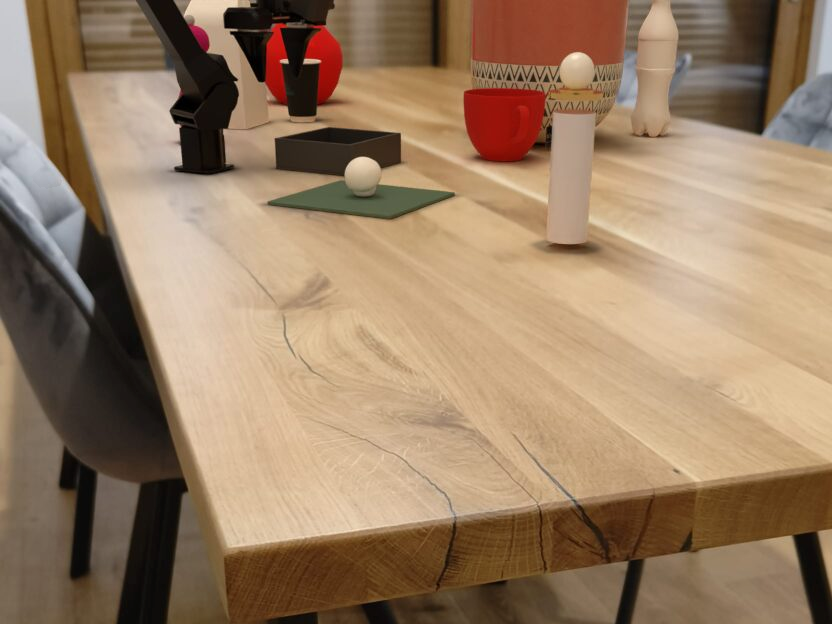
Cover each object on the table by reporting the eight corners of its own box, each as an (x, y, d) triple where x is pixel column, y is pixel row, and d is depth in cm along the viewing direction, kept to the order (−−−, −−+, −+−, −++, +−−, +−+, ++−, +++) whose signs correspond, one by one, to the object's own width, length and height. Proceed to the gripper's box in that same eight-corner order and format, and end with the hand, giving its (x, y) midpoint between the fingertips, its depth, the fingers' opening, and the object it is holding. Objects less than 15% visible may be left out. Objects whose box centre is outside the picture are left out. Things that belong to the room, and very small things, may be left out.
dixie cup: (330, 119, 220) (328, 59, 215) (310, 124, 213) (308, 62, 208) (295, 117, 222) (292, 58, 218) (274, 121, 216) (271, 60, 211)
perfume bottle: (602, 246, 124) (616, 52, 115) (573, 254, 120) (586, 55, 111) (559, 238, 127) (570, 49, 118) (530, 246, 123) (539, 51, 114)
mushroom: (388, 198, 145) (388, 158, 143) (355, 201, 143) (354, 161, 141) (371, 191, 149) (370, 153, 147) (338, 194, 147) (337, 155, 145)
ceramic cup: (483, 170, 168) (485, 100, 164) (452, 153, 183) (453, 88, 178) (563, 167, 171) (567, 98, 167) (526, 151, 186) (529, 87, 181)
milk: (186, 126, 208) (173, -28, 196) (211, 119, 218) (201, -28, 206) (246, 129, 205) (236, -27, 194) (269, 122, 215) (261, -27, 204)
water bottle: (624, 135, 204) (636, -15, 193) (636, 131, 210) (649, -15, 199) (661, 138, 201) (676, -14, 190) (673, 134, 207) (688, -14, 196)
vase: (246, 105, 240) (237, -50, 227) (281, 96, 256) (274, -49, 242) (325, 109, 235) (320, -49, 222) (356, 100, 251) (353, -48, 238)
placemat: (390, 219, 135) (390, 215, 135) (267, 204, 142) (267, 201, 142) (454, 195, 150) (455, 192, 150) (340, 183, 157) (340, 180, 157)
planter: (510, 127, 213) (516, -30, 201) (641, 138, 201) (655, -27, 189) (439, 143, 192) (441, -30, 181) (580, 157, 180) (592, -27, 168)
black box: (351, 176, 162) (350, 145, 160) (276, 168, 167) (274, 138, 165) (401, 162, 174) (401, 132, 172) (329, 155, 179) (328, 126, 177)
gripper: (284, -36, 150) (289, 88, 156) (355, -35, 165) (357, 78, 171) (217, -37, 154) (225, 83, 161) (291, -36, 169) (296, 74, 176)
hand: (279, 79), depth 167 cm, fingers open, 9 cm apart
